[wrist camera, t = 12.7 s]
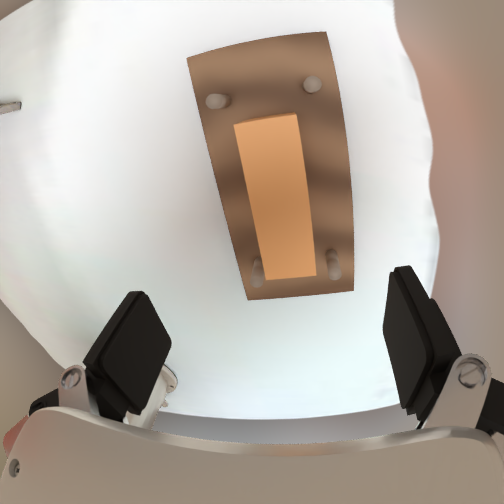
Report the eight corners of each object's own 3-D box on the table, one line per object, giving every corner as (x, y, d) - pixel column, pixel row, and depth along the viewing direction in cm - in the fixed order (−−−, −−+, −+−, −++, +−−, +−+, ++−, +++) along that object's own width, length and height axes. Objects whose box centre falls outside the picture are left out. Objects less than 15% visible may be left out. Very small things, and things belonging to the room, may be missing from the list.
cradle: (351, 284, 29) (358, 312, 25) (249, 293, 32) (242, 321, 28) (324, 34, 17) (331, 20, 13) (191, 59, 19) (170, 52, 15)
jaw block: (294, 112, 20) (296, 114, 15) (312, 239, 26) (316, 275, 21) (247, 119, 21) (233, 124, 16) (271, 243, 27) (266, 280, 22)
